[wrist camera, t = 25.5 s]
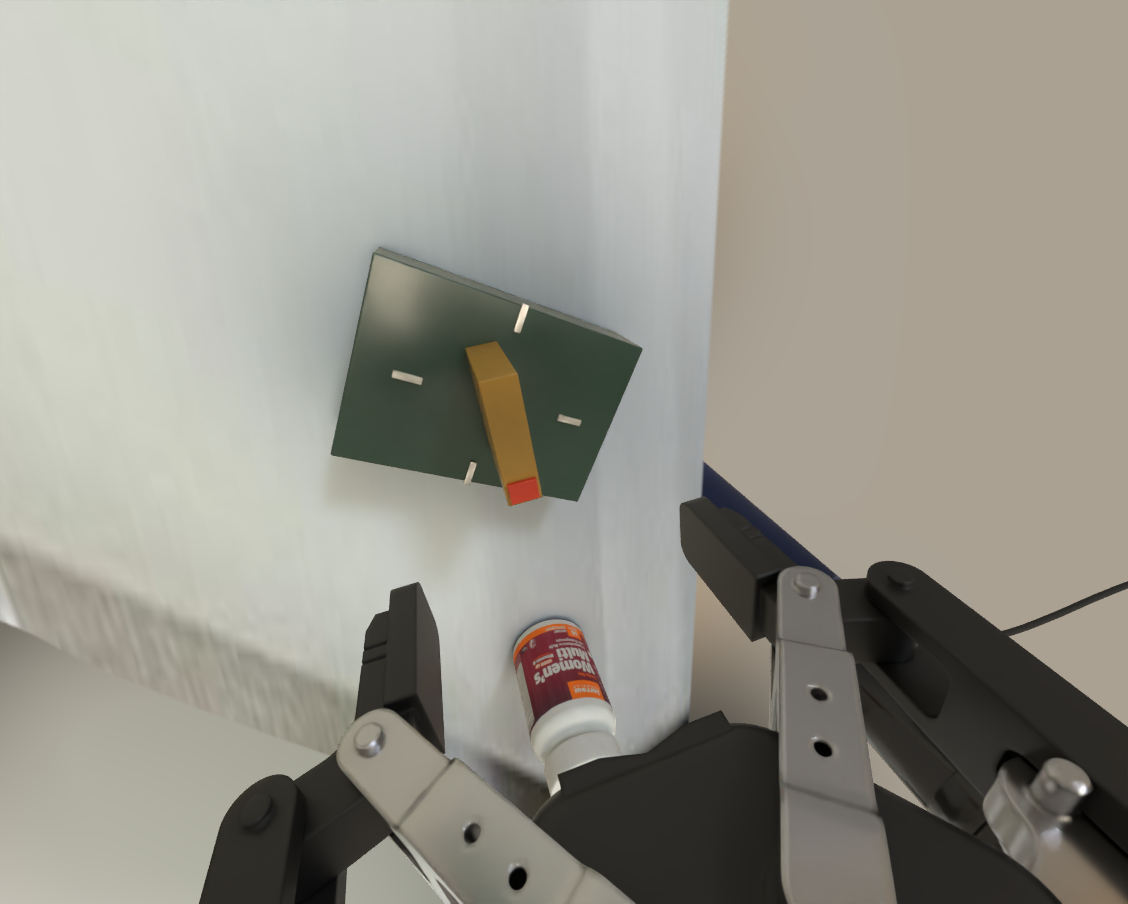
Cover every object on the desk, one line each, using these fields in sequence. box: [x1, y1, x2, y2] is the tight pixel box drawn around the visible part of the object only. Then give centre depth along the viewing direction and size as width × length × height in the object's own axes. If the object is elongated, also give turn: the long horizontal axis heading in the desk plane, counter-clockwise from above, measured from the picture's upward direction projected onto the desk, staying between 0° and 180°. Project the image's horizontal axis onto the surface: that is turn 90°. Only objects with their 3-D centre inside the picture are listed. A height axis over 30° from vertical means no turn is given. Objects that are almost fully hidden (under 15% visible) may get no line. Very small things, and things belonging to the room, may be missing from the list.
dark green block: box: [331, 247, 642, 502], centre depth 26 cm, size 14×10×4 cm
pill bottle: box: [513, 619, 622, 796], centre depth 35 cm, size 6×6×11 cm
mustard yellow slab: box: [465, 341, 542, 506], centre depth 22 cm, size 6×2×6 cm, turn 9°
